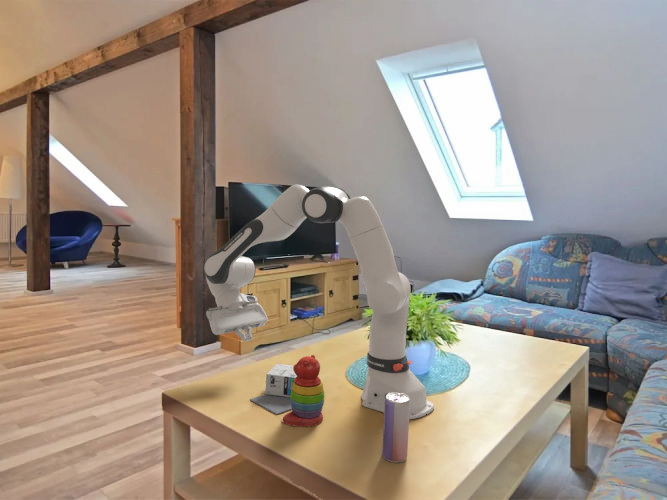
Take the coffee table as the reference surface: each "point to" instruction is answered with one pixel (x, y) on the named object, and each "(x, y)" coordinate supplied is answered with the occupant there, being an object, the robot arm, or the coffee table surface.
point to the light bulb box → (280, 380)
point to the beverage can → (396, 427)
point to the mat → (273, 403)
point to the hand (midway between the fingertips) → (248, 340)
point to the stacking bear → (306, 394)
